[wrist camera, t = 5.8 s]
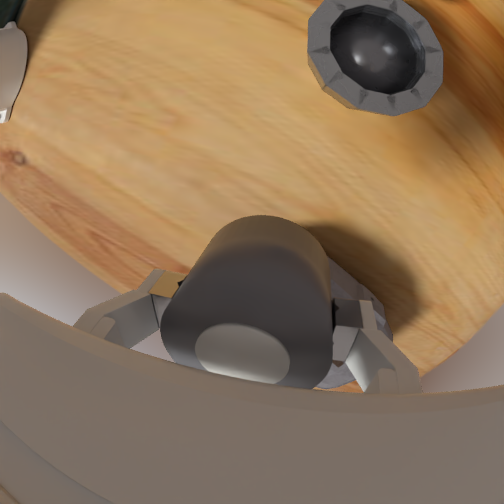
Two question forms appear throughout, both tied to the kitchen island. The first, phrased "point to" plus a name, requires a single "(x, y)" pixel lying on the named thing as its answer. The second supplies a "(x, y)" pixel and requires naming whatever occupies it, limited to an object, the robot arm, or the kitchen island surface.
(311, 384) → the white-tipped grey cylinder
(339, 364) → the grey rounded bag
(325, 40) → the grey faceted round container
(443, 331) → the kitchen island surface
